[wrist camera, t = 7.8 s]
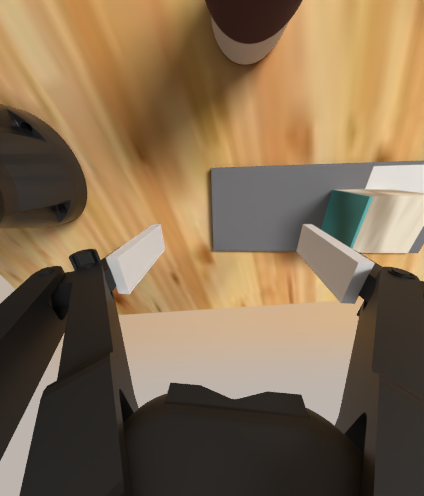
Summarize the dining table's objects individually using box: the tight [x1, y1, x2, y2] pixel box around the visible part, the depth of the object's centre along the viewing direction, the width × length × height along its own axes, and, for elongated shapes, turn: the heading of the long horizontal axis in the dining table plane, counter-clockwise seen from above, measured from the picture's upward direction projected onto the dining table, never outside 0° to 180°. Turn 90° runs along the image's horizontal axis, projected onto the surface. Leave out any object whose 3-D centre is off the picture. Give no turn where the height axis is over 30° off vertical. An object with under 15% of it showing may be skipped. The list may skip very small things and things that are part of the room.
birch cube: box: [321, 189, 424, 253], centre depth 19 cm, size 6×6×6 cm
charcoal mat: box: [211, 161, 424, 253], centre depth 22 cm, size 30×12×1 cm, turn 91°
